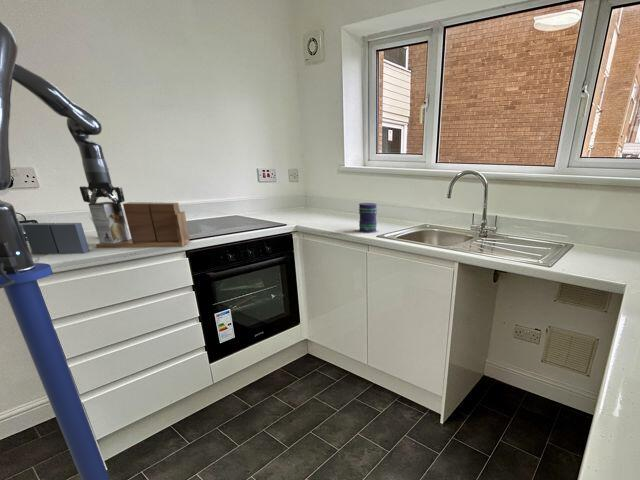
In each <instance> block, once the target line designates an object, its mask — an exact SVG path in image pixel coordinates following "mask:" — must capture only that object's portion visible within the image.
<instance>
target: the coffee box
mask: <svg viewBox="0 0 640 480" xmlns="http://www.w3.org/2000/svg"><path fill="white" fill-rule="evenodd" d="M114 204H115V203H114V202H113V201H101V202H97V203H92V204H90V203H88V208H89V211H91V215H92V218H93V221H94V224H93V226H94V225H95V226H94V229H95V228H96V229H95V231H96V235H97V238H98V241H99V242H98V243H111V244H115V243H118V242H122V241H125V240H129V239H131V237H130V233H129V231H128V230H129V229H128V225H127V223H126V222H127V221H126V217H125V215H124V212H123V211H124V210H123V208H122V207H123V206H122V202H121V203H120V206H121V212H120V213H116V211H115V207H114Z"/></svg>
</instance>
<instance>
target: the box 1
mask: <svg viewBox="0 0 640 480" xmlns="http://www.w3.org/2000/svg"><path fill="white" fill-rule="evenodd" d="M151 203H155V202H151V201H149V202H145V201H143V202H141V201H139V202H138V201H136V202H135V201H133V202H132V201H129V202H125V203H124V202H123V203H122V207H123V211H124V214H125V215H124V216H125V220H126V222H127V223H126V224H127V228H128V230H129V231H128V232H129V236H130V239H132V242H157V237H156V232H155V228H154V223H153V219H152V214H151V210H150V205H149V204H151Z"/></svg>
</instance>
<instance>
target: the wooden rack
mask: <svg viewBox="0 0 640 480" xmlns="http://www.w3.org/2000/svg"><path fill="white" fill-rule="evenodd" d="M174 219H175V224H176V229H177V234H178V239H179V242H158V241H157V242H132V239H131V238H130V239H129V240H125V241H122V242H118V243H115V244H111V243H100V242H98V243H95V247H96V248H98V249H99V248H102V249H103V248H105V249H106V248H147V247H149V248H153V247H155V248H157V247H183V246H185V245H187V244H188V243H189V242H190V234H189V233H190V232H189V229H188V227H189V226H188V222H187V218H186V212H185V211H184V210H183V211H181V210H180V212H179V213H176V214H174Z"/></svg>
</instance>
